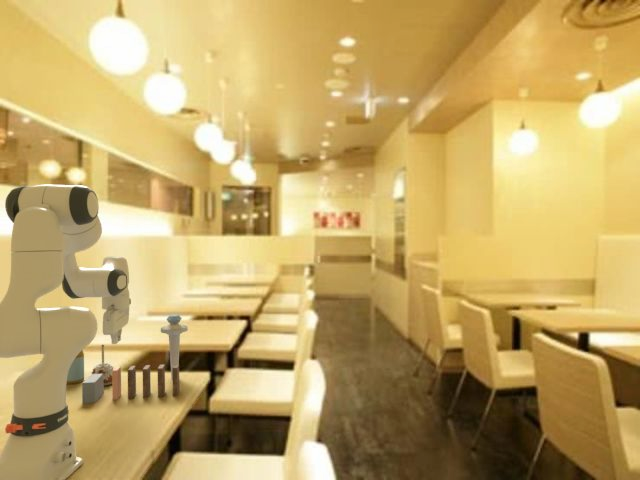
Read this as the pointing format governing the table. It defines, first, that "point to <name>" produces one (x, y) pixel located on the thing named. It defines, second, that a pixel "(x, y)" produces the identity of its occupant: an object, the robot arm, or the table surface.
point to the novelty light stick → (174, 338)
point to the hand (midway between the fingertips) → (116, 342)
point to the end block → (92, 388)
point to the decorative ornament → (104, 370)
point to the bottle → (76, 370)
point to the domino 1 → (116, 382)
